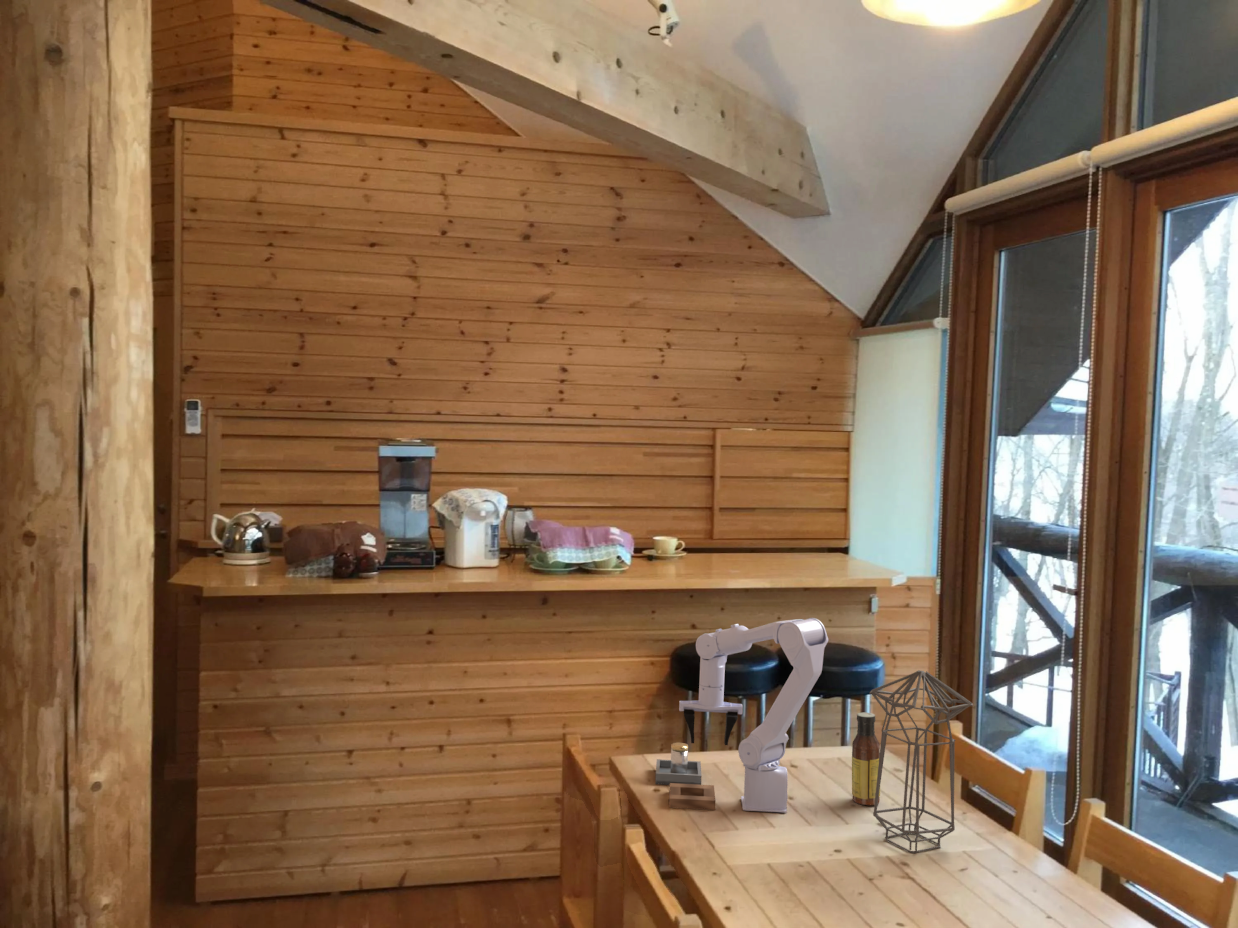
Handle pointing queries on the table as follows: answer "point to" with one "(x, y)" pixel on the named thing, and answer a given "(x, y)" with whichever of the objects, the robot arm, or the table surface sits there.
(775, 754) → the robot arm
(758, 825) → the table surface
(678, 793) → the block
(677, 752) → the gold and silver cylinder
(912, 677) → the geometric lantern
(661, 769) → the tray
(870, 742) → the sauce bottle
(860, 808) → the table surface
